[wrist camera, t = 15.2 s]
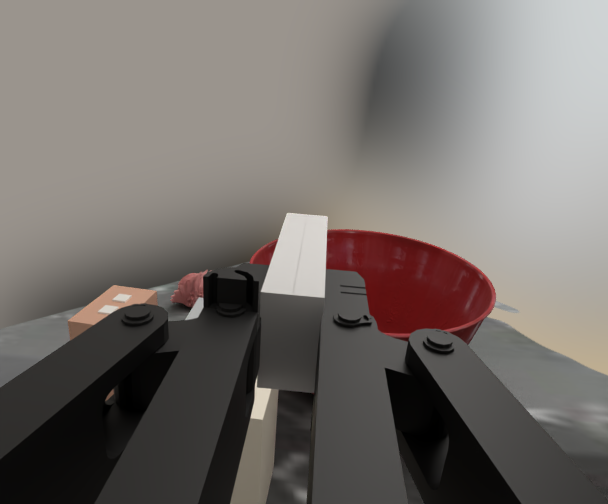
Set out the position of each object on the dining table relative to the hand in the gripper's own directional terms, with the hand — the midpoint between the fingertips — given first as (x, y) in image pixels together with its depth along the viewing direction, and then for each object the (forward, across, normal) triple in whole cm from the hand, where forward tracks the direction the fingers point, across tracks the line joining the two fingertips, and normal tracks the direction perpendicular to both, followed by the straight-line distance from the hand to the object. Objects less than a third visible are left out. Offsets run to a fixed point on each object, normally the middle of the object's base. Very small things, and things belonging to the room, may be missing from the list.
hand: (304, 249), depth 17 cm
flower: (+48, -19, -30) cm, 60 cm away
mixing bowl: (+34, +7, -30) cm, 46 cm away
